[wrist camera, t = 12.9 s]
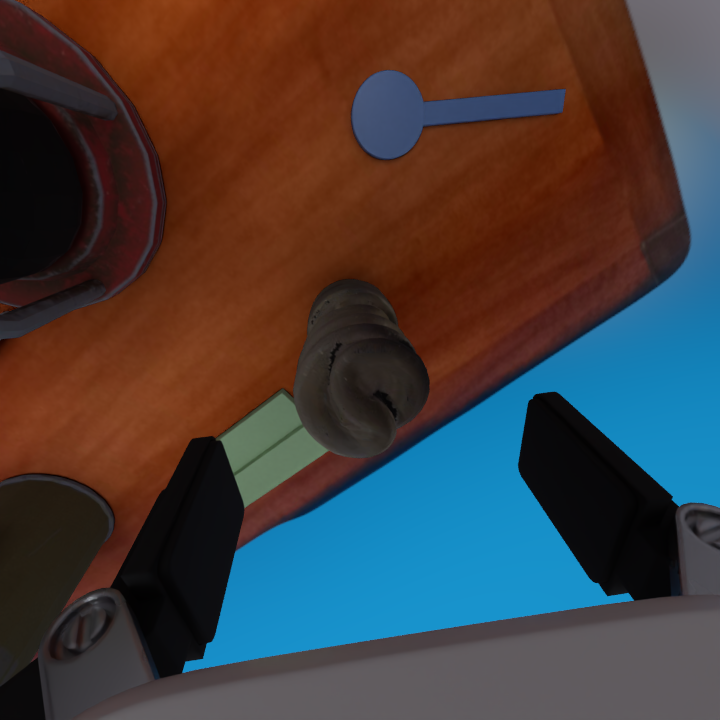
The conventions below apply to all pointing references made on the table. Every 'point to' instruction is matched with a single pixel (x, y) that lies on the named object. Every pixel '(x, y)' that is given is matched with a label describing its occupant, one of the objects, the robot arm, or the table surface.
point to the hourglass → (68, 177)
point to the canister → (42, 557)
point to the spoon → (429, 112)
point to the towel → (268, 446)
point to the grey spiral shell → (357, 372)
